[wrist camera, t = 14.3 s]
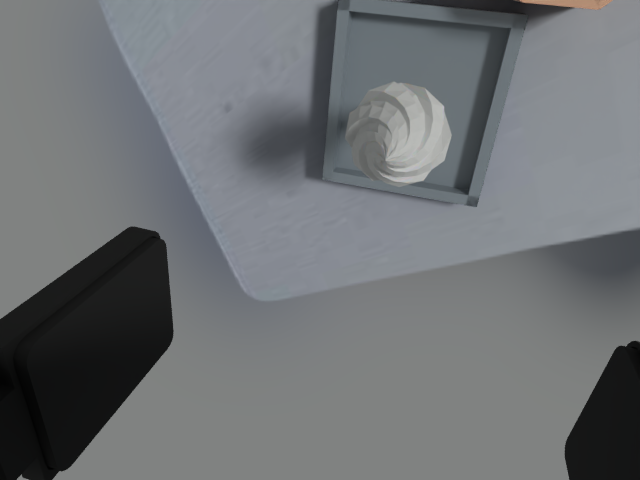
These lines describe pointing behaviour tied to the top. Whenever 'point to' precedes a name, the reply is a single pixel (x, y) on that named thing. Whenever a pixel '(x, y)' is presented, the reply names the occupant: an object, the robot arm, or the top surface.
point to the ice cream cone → (398, 134)
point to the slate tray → (424, 84)
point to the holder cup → (571, 3)
